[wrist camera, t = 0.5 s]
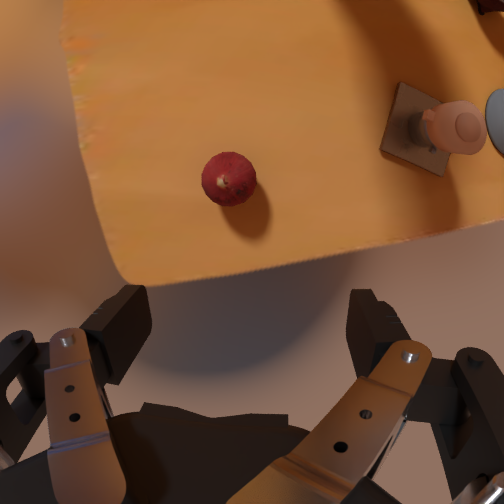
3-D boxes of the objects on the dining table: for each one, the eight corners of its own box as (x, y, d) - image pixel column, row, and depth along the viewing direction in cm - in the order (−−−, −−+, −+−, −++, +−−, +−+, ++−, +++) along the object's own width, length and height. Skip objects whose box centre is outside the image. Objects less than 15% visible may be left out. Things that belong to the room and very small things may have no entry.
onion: (268, 176, 37) (266, 183, 29) (234, 210, 38) (223, 226, 31) (232, 141, 36) (221, 140, 28) (199, 176, 37) (180, 184, 30)
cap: (427, 92, 26) (447, 86, 21) (475, 120, 26) (499, 119, 21) (415, 137, 27) (435, 137, 23) (464, 163, 27) (487, 167, 23)
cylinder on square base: (397, 83, 32) (420, 72, 25) (456, 113, 32) (485, 110, 25) (379, 149, 35) (400, 150, 28) (439, 176, 35) (467, 183, 28)
